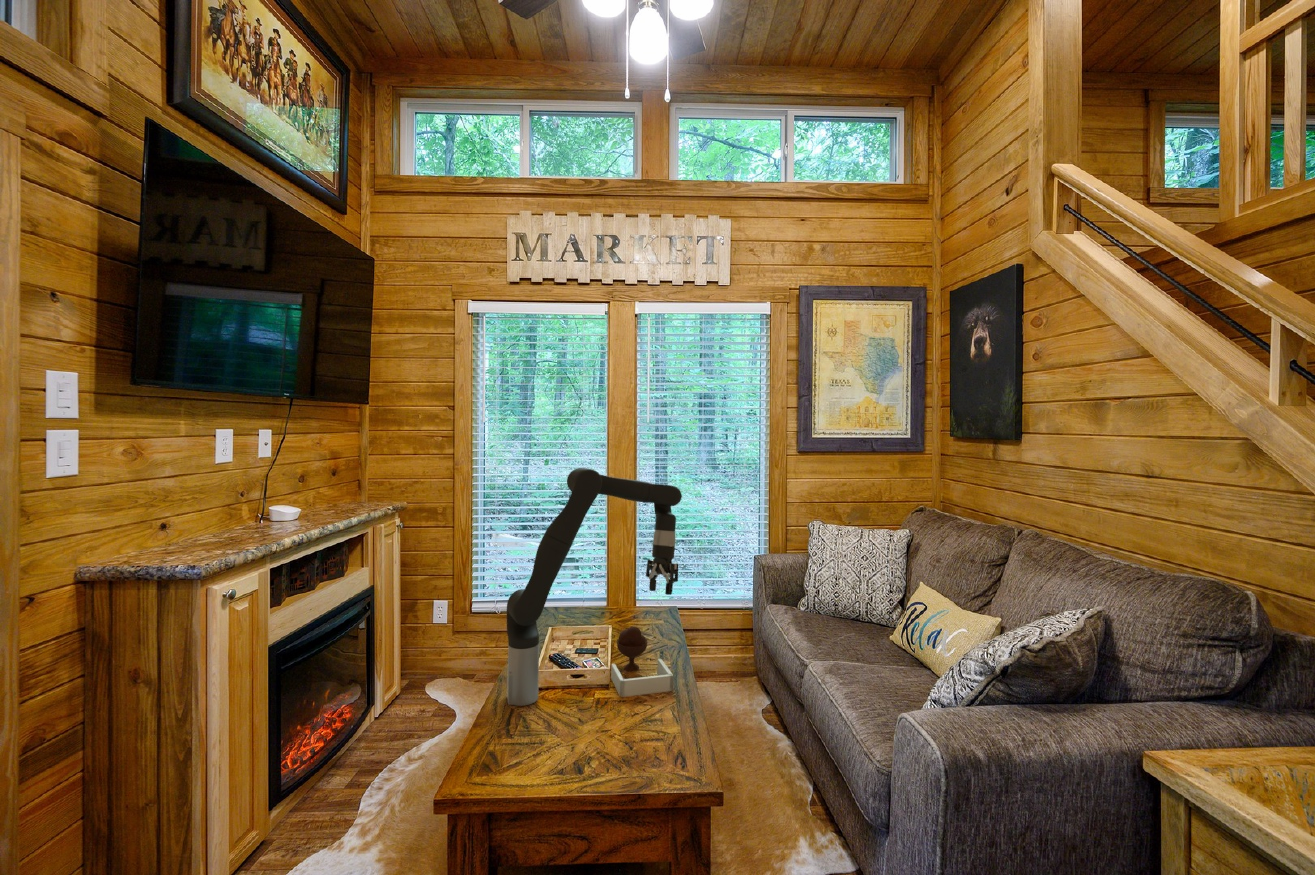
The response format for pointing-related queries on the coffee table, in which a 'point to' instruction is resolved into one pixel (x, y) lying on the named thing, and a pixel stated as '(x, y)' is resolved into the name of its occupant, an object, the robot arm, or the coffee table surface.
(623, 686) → the corral
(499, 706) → the coffee table surface
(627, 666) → the ice cream bowl
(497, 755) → the coffee table surface
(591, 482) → the robot arm
